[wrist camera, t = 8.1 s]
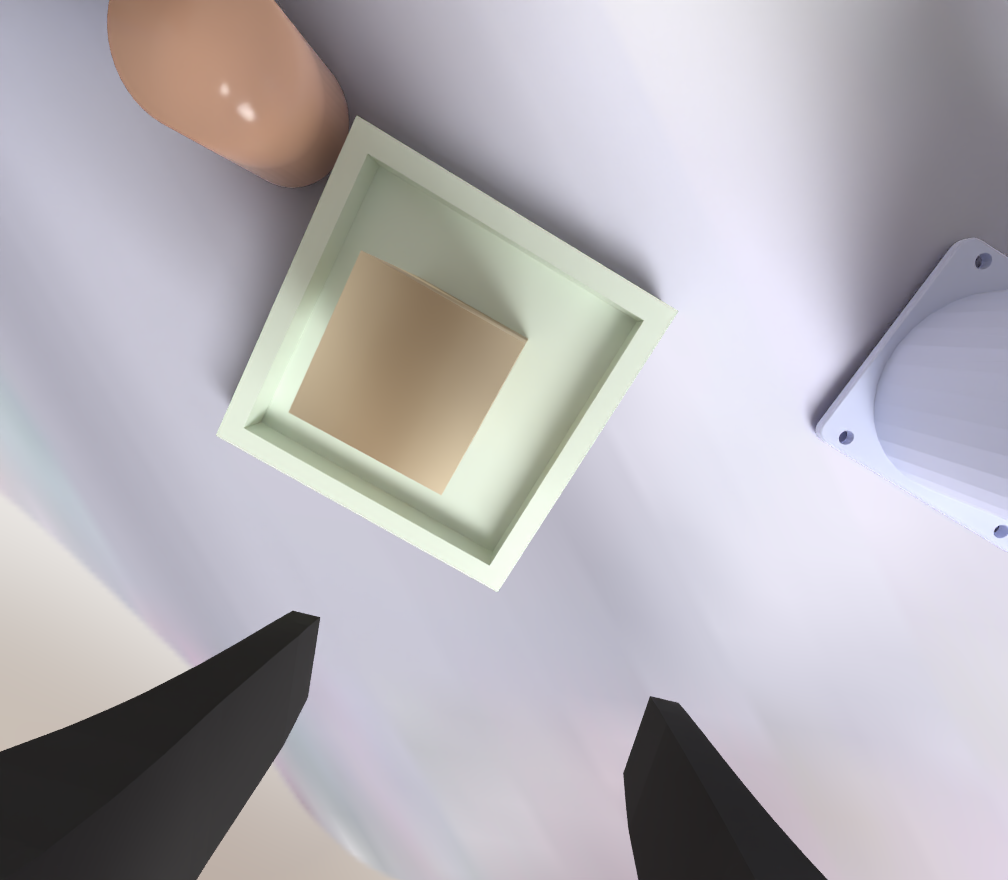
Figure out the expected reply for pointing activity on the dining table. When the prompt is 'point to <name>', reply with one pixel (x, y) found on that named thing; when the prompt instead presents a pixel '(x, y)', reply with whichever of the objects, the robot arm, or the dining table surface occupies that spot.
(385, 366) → the maple block
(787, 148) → the dining table surface
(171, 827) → the robot arm
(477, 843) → the dining table surface
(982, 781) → the dining table surface
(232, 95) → the peach rounded cylinder
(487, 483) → the tray
